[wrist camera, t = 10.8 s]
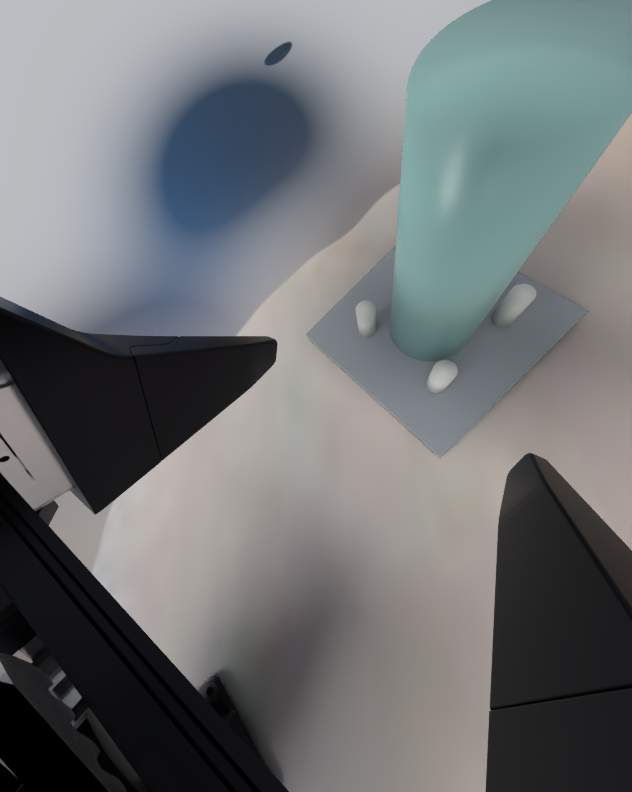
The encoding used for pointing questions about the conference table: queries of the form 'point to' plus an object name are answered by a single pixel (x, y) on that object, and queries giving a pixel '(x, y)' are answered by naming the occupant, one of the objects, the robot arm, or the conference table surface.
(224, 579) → the conference table surface
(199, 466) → the conference table surface
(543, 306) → the pin board
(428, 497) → the conference table surface
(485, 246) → the rounded cone
